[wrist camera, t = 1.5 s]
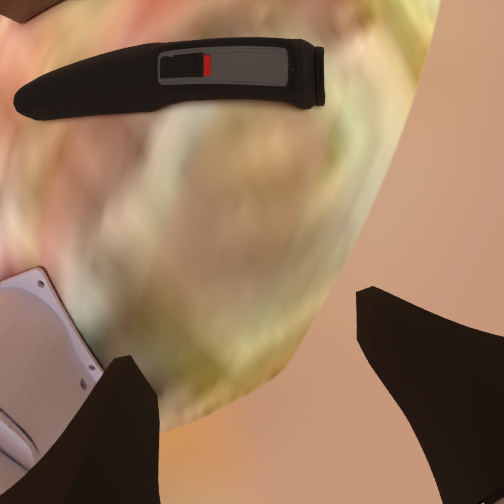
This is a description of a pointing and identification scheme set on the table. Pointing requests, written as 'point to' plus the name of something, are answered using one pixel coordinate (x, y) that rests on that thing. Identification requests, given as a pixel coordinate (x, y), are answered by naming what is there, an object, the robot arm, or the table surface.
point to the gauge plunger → (23, 8)
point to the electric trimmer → (178, 77)
